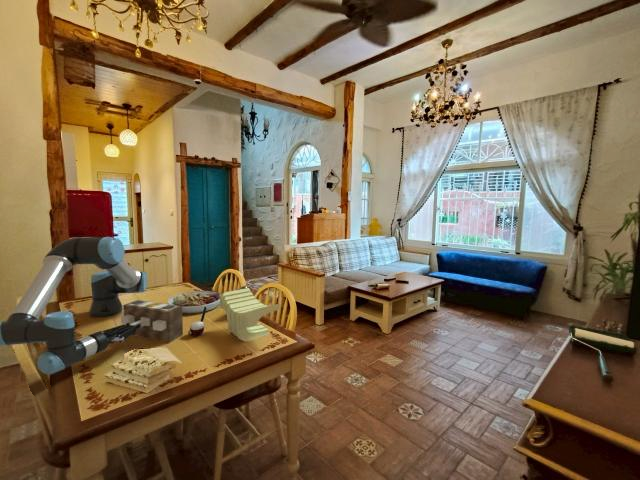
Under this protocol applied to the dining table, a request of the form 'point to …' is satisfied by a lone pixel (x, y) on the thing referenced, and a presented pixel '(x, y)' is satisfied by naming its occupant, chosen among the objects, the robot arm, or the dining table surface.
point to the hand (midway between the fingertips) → (144, 322)
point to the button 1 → (127, 319)
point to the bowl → (195, 301)
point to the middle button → (146, 321)
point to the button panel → (156, 312)
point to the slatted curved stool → (245, 314)
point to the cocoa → (197, 326)
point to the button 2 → (159, 325)
